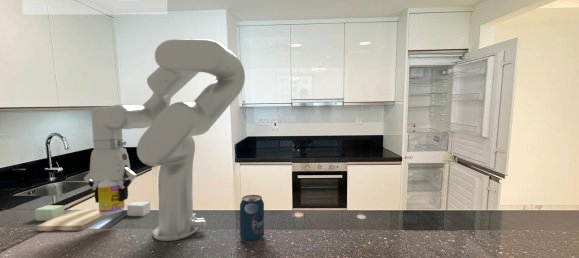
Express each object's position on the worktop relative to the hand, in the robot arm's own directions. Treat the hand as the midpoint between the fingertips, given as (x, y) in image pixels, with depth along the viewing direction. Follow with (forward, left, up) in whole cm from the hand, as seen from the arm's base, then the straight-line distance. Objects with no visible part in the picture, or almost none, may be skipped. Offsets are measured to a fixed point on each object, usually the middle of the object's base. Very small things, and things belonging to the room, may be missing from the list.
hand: (111, 200), depth 77 cm
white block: (-2, -11, -9) cm, 14 cm away
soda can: (-46, +9, -9) cm, 48 cm away
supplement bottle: (0, 0, -4) cm, 4 cm away
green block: (+27, -8, -9) cm, 30 cm away
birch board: (+15, -5, -9) cm, 18 cm away
